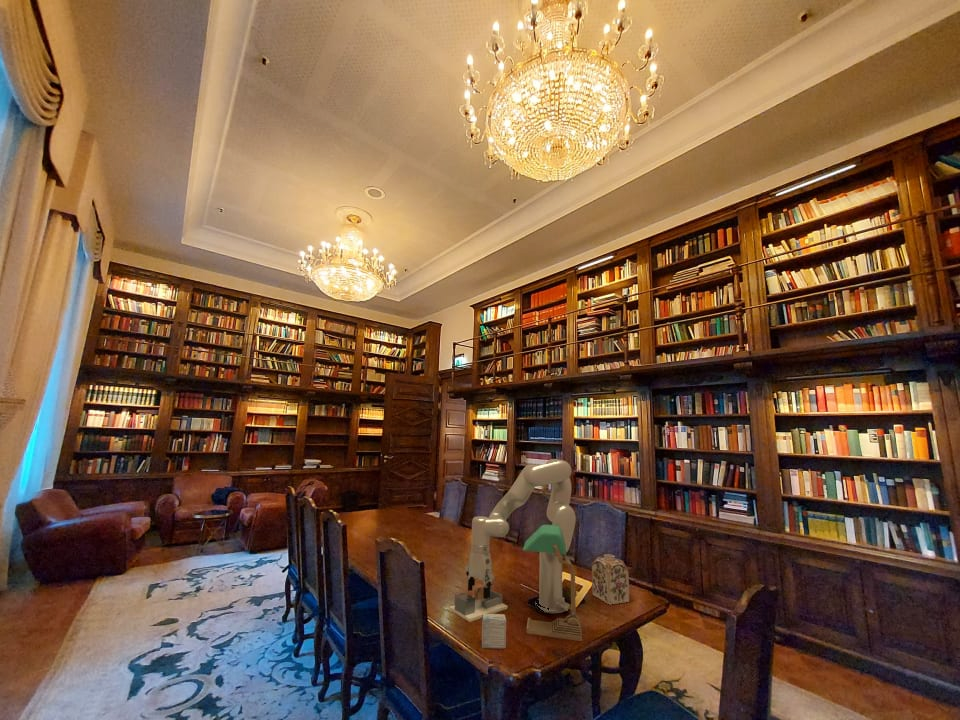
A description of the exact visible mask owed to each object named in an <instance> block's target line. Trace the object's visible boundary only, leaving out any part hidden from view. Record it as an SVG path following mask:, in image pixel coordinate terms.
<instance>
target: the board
mask: <svg viewBox="0 0 960 720" xmlns="http://www.w3.org/2000/svg"><path fill="white" fill-rule="evenodd" d="M454 608H455V604H454V605H450V606H449V611H451V612H453V613H454V614H456V615H458V616H459V617H461V618H462V619H464V620H465V621H467V622H469V623H472V622H474V621H476V620H479V619H482V614H498V613H500V612H502V611H505V610H507V609H508V605H507V604H505V603H503V594H502V593H499V592H497V591H495V590H493V589H490V597H489V598H486V601H485V602H484V607H481V608H478V609H475V613H472V614H469V615H466V616H465V615H463V614H461V613H460V612H458V611H456V610H455V609H454Z"/></svg>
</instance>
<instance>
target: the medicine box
mask: <svg viewBox="0 0 960 720" xmlns="http://www.w3.org/2000/svg"><path fill="white" fill-rule="evenodd" d="M481 622H482V623H481V649H506V648H507V647H506V643H507V637H506V636H507V635H506V634H507V618H506V615H505V614H501V613H500V614H499V613H494V614H482V618H481Z"/></svg>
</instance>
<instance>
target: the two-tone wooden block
mask: <svg viewBox="0 0 960 720" xmlns="http://www.w3.org/2000/svg"><path fill="white" fill-rule="evenodd" d="M484 587H485V586H484V584H481V583H477V584H475V585H474V586H472V590H471V591H472V592H471V594H472V595H471V596H472V597H474V598H475V609H478V608H481V607H484V602H485V601H486V599H484V598H483V588H484Z"/></svg>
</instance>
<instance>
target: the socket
mask: <svg viewBox="0 0 960 720" xmlns="http://www.w3.org/2000/svg"><path fill="white" fill-rule="evenodd" d="M454 605H455V608H454V609H455V610H456V611H458V612H460V613H461V614H463V615H465V616H466V615H469V614H472V613H475V598H474V597H472V595H470V594H468V593H466V592H463V593H459V594H456V595H455V596H454Z"/></svg>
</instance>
